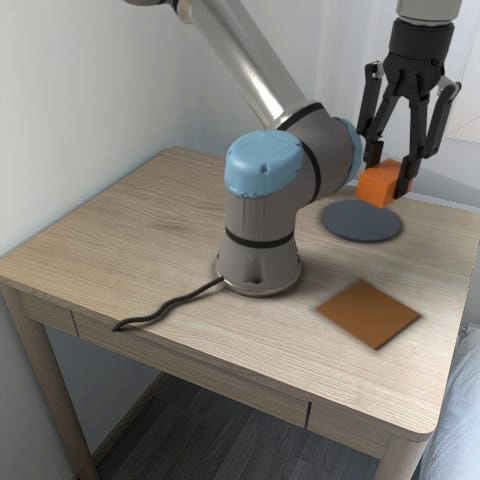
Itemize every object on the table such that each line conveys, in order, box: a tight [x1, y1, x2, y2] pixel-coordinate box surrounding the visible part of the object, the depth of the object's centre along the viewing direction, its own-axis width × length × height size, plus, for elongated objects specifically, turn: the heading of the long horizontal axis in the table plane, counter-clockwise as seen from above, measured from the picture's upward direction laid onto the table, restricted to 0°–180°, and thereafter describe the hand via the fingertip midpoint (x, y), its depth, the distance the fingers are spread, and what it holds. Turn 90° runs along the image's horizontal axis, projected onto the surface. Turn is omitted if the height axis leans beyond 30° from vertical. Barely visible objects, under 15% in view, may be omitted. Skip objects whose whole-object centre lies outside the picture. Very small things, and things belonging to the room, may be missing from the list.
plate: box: [320, 199, 401, 244], centre depth 102 cm, size 16×16×1 cm
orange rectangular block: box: [354, 157, 414, 209], centre depth 76 cm, size 8×5×4 cm, turn 135°
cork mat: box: [315, 279, 421, 351], centre depth 80 cm, size 12×12×1 cm
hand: (383, 189), depth 77 cm, fingers closed on orange rectangular block, 5 cm apart
